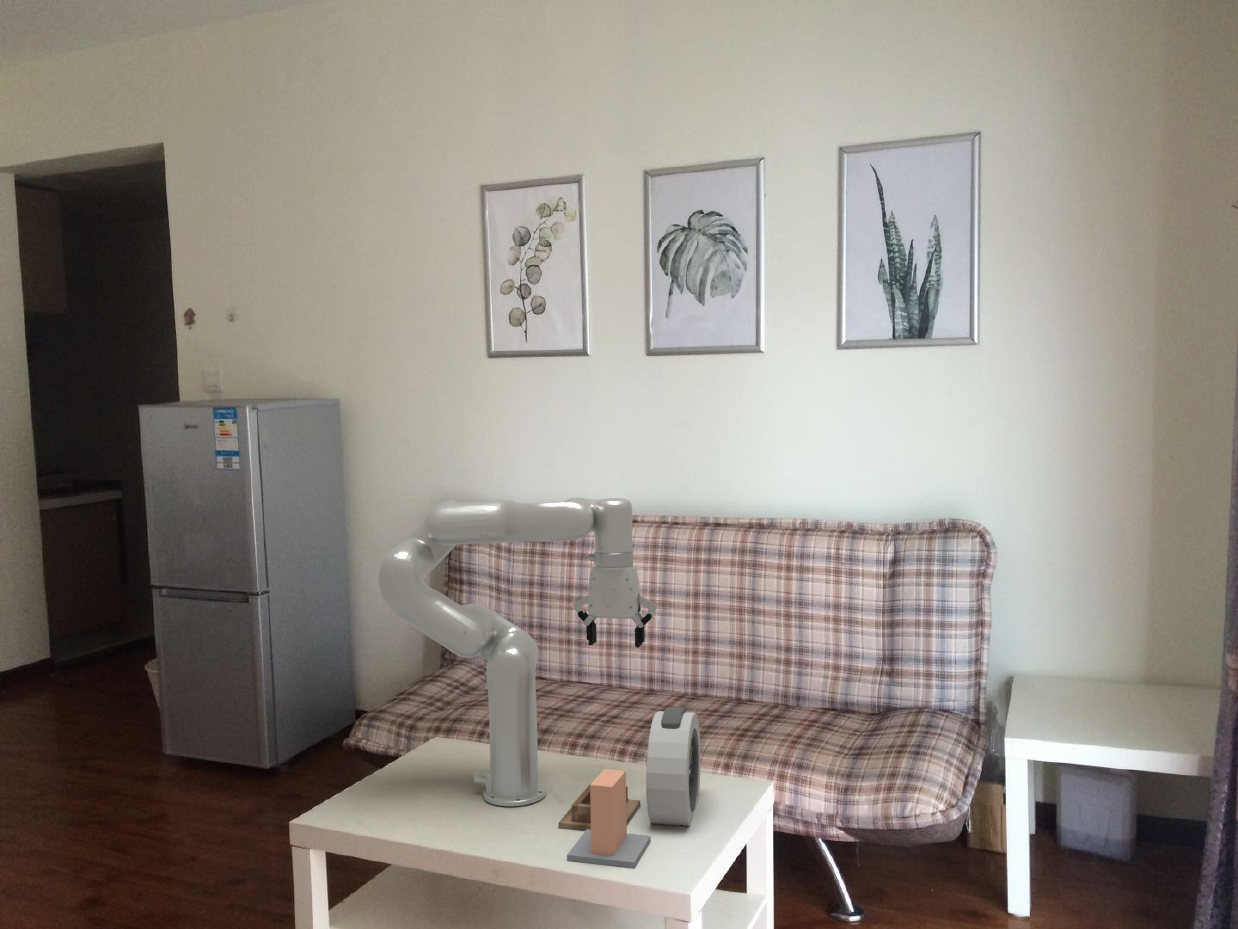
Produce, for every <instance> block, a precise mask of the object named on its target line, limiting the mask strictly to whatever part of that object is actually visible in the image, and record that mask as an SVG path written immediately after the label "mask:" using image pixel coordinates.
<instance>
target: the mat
mask: <svg viewBox="0 0 1238 929" xmlns="http://www.w3.org/2000/svg"><path fill="white" fill-rule="evenodd" d="M651 839H652V838H651V835H645V834H637V833H628V832H627V837H626V839H625V840H624V842H623V843H622V845H621V846H620V848H619V849H618V850H617V852H616V853H615V855H614V856H609V855H600V854H592V853H591V830H590V829H587V830H586V831H584V832H583V833H582V834H581V836H580V837H579V838H578V840H577V841H576V842H575V844H574V845H573V846H572V847H571V849H570V850H569V851H568V853H567V854H566V861H568V862H575V863H576V862H577V863H585V864H594V865H601V866H602V865H603V866H613V867H619V868H627V869H635V868H636V867H637V865H638V864H639V862H640V860H641V858H642V856H643V854H644V853H645V851H646V850H647V849H648V846H649V845H650V843H651Z"/></svg>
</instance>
